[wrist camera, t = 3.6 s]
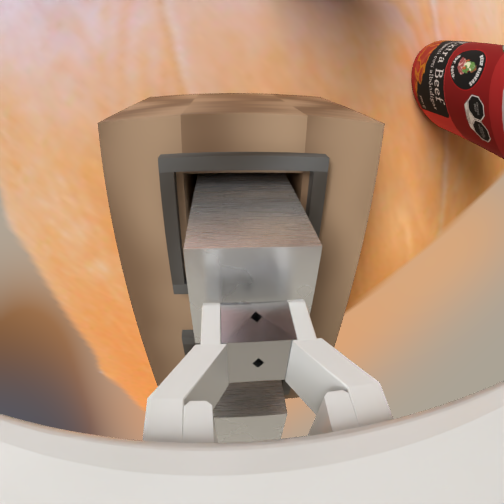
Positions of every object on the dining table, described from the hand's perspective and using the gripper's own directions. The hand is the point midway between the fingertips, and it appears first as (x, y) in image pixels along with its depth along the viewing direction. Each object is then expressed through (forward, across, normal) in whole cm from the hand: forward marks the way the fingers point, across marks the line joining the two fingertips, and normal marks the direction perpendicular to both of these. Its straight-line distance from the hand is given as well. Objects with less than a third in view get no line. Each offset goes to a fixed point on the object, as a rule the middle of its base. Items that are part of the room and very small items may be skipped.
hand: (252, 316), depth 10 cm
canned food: (+16, -17, -8) cm, 25 cm away
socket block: (+16, 0, +5) cm, 16 cm away
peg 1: (+10, 0, 0) cm, 10 cm away
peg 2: (+10, 0, +10) cm, 14 cm away
